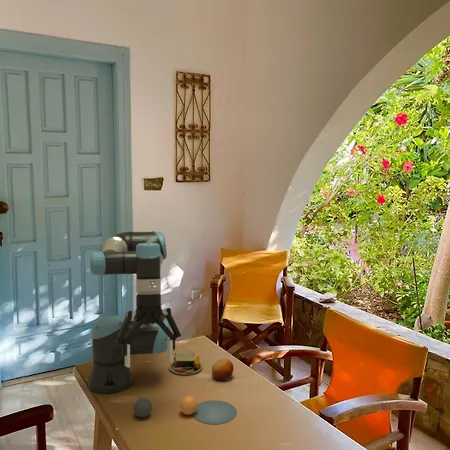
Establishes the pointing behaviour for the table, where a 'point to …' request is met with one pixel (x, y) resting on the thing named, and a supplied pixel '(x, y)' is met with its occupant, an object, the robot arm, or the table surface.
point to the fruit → (222, 369)
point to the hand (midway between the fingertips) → (149, 363)
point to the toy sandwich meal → (185, 363)
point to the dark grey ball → (142, 407)
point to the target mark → (214, 412)
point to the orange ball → (188, 405)
